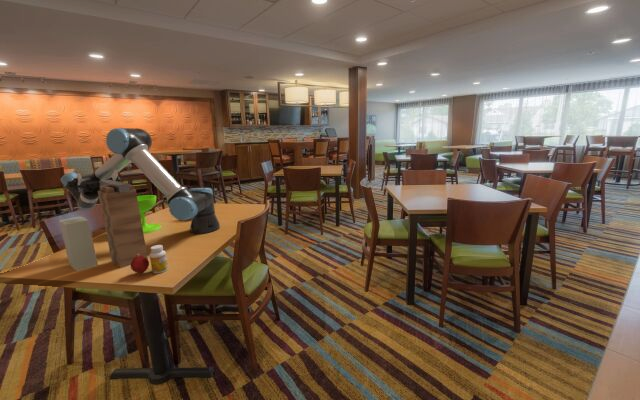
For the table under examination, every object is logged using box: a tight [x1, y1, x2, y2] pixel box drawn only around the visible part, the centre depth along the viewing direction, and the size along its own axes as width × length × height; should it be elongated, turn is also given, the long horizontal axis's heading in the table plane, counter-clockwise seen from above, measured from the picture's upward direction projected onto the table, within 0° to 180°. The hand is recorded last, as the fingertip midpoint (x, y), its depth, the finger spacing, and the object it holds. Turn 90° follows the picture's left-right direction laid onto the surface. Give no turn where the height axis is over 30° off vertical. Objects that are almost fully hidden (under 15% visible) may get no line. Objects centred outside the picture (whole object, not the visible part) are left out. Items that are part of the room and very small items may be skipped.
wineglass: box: [137, 194, 162, 234], centre depth 162 cm, size 16×16×18 cm
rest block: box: [58, 216, 99, 272], centre depth 118 cm, size 10×7×19 cm
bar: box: [99, 180, 130, 193], centre depth 117 cm, size 22×4×3 cm, turn 52°
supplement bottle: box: [149, 244, 169, 274], centre depth 111 cm, size 5×5×10 cm
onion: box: [130, 254, 150, 275], centre depth 110 cm, size 6×6×8 cm
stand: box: [98, 184, 149, 268], centre depth 119 cm, size 10×10×32 cm
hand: (98, 174), depth 131 cm, fingers open, 13 cm apart
